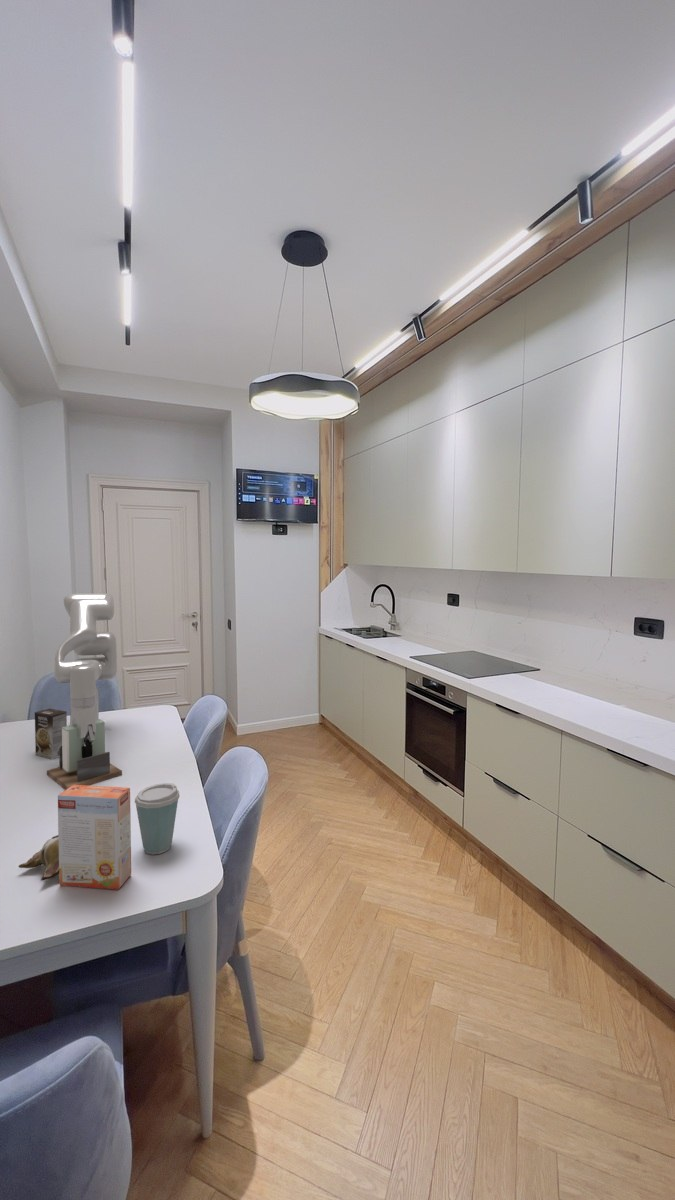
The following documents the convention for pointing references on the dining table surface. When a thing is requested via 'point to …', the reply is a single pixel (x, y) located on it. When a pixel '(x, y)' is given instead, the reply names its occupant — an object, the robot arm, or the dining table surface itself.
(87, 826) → the cracker box
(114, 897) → the dining table surface
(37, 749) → the coffee box
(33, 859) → the ceramic sculpture
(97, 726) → the book
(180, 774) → the dining table surface
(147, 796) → the disposable coffee cup
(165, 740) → the dining table surface
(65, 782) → the bookshelf board
